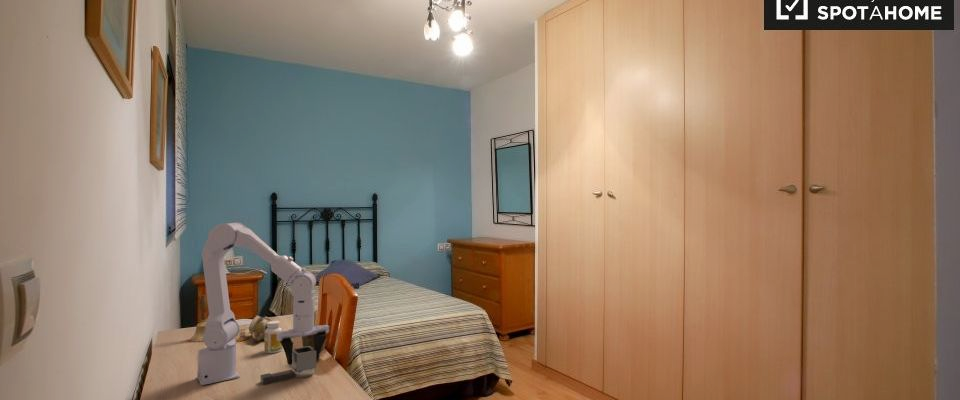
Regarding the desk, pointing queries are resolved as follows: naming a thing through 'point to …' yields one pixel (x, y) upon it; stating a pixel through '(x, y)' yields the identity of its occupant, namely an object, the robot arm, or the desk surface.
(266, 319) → the ceramic sculpture
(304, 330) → the robot arm
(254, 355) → the desk surface
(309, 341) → the cup
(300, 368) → the dark-topped grey cube
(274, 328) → the supplement bottle
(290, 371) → the ratchet
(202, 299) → the hand bell
